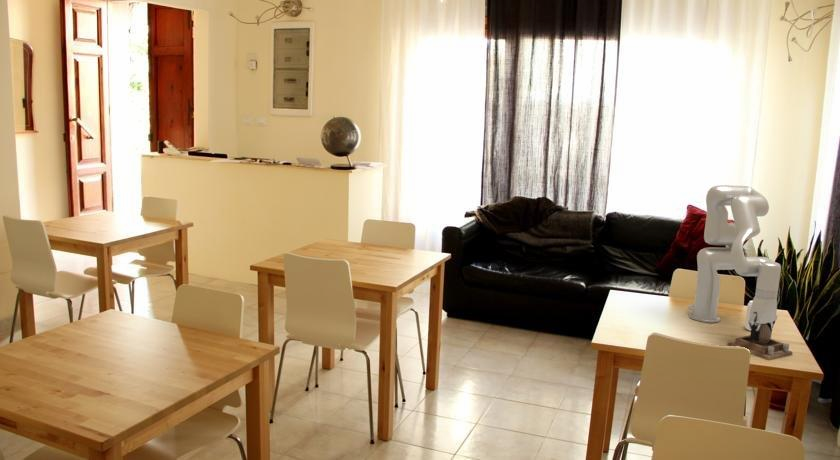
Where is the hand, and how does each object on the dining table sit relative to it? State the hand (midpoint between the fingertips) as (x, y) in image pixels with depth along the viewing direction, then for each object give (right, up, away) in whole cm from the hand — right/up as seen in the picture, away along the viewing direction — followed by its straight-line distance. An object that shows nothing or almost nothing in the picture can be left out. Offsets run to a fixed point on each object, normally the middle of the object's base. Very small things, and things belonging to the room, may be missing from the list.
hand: (760, 338), depth 279 cm
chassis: (0, -4, +1) cm, 5 cm away
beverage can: (+10, -1, +25) cm, 27 cm away
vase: (0, -2, 0) cm, 2 cm away
